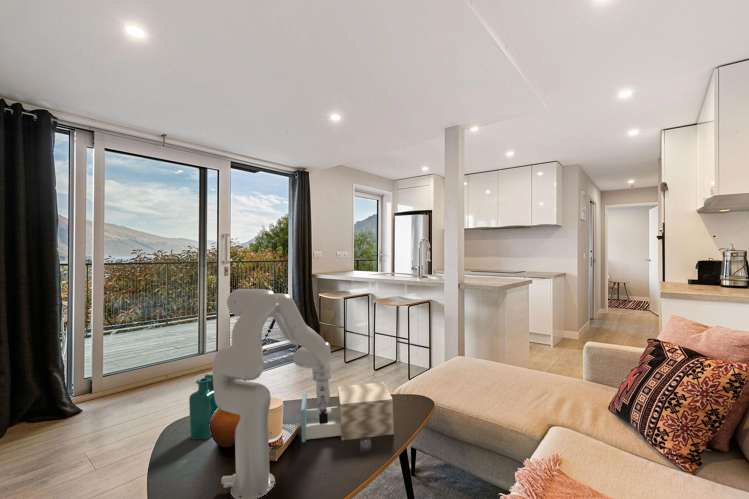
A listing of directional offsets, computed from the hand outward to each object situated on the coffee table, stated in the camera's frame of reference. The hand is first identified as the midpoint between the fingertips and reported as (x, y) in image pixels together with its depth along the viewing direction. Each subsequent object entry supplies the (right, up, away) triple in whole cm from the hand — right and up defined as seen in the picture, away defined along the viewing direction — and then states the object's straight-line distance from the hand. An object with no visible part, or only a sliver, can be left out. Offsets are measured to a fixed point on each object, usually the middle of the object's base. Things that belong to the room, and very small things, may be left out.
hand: (323, 418), depth 138 cm
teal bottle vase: (-47, -6, 0) cm, 47 cm away
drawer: (+2, -4, 0) cm, 4 cm away
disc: (0, +2, 0) cm, 2 cm away
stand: (+17, -4, -15) cm, 23 cm away
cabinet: (+16, -4, +2) cm, 17 cm away
